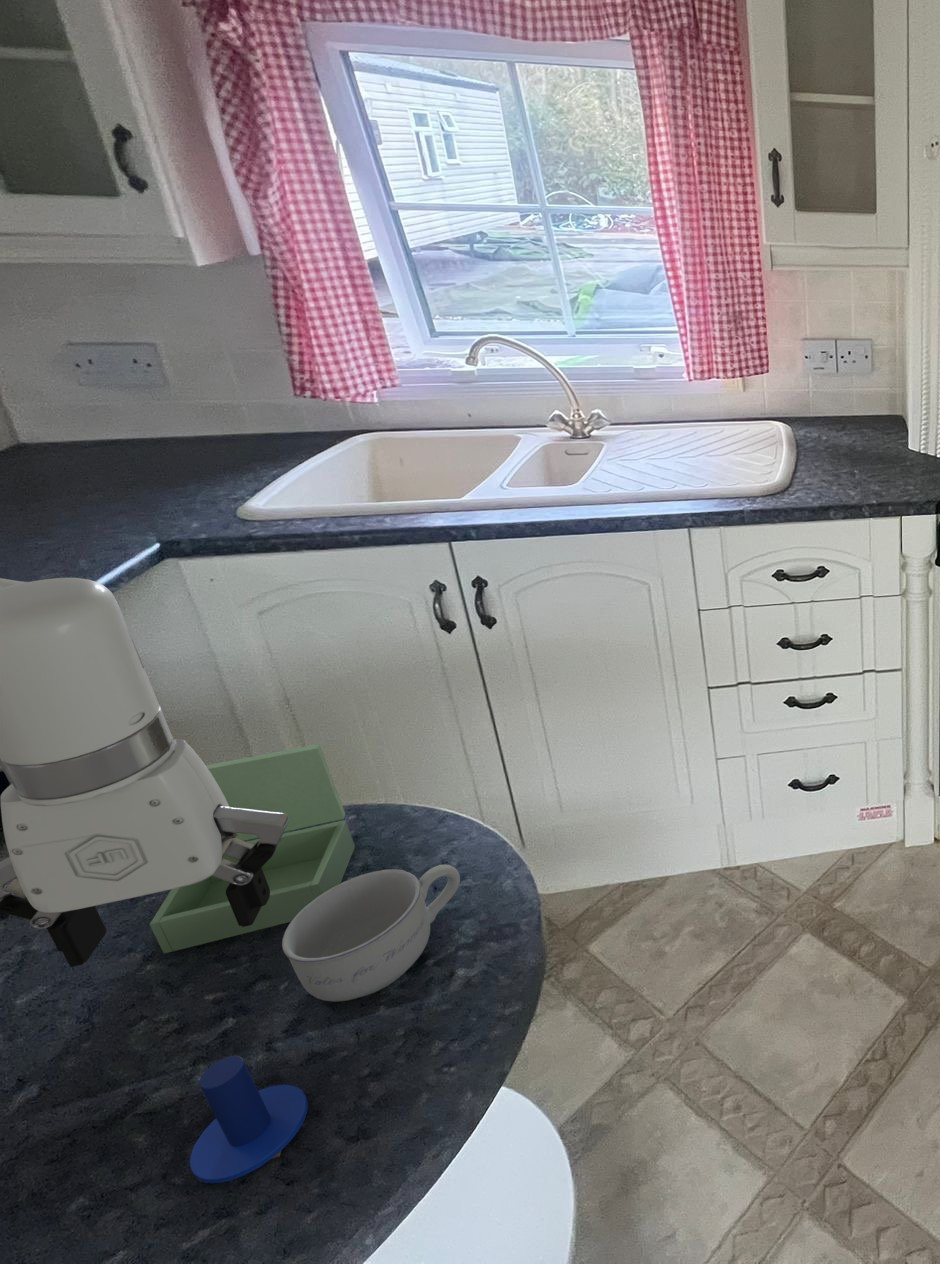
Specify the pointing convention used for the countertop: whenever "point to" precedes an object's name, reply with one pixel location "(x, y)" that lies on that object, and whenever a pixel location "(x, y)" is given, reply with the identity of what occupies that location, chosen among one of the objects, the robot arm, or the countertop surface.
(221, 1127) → the blue cylinder on disc
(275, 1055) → the countertop surface
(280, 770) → the hatch
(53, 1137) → the countertop surface
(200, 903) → the green wooden box
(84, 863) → the robot arm
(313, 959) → the teacup
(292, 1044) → the countertop surface
